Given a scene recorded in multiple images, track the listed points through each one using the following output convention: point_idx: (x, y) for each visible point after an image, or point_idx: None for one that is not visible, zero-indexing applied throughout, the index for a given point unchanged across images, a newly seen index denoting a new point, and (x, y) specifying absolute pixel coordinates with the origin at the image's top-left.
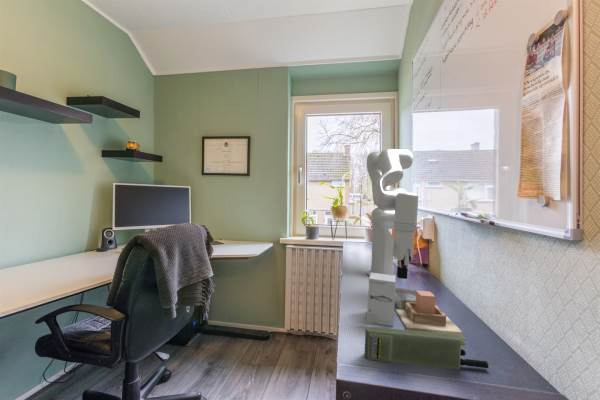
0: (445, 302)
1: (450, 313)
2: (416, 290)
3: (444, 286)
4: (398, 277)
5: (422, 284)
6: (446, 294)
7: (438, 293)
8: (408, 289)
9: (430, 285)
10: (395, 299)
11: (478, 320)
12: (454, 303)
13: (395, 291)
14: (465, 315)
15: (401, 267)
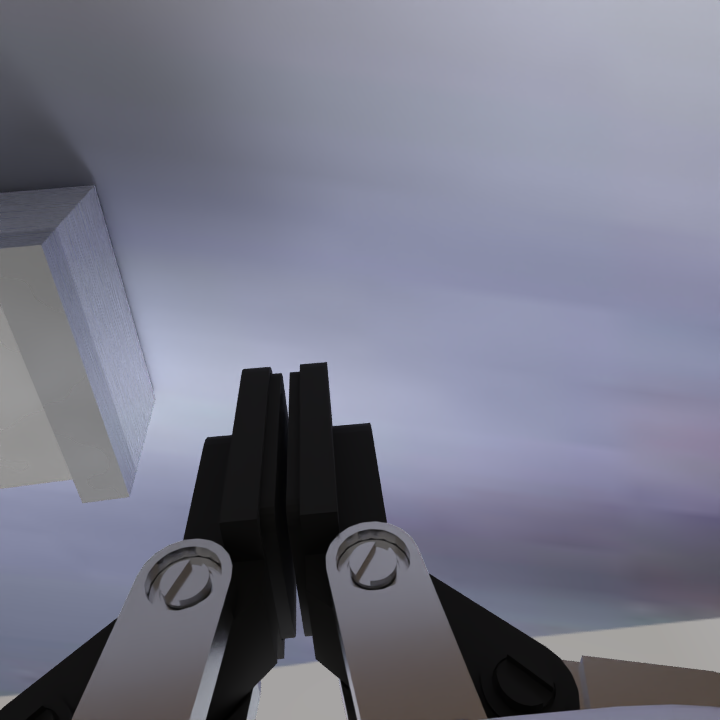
0: (296, 588)
1: (57, 587)
2: (89, 497)
3: (658, 622)
4: (243, 378)
5: (712, 506)
6: None
7: (495, 575)
8: (76, 419)
9: (684, 552)
10: (25, 201)
11: (21, 688)
12: (297, 628)
13: (4, 234)
14: (73, 649)
15: (159, 584)
